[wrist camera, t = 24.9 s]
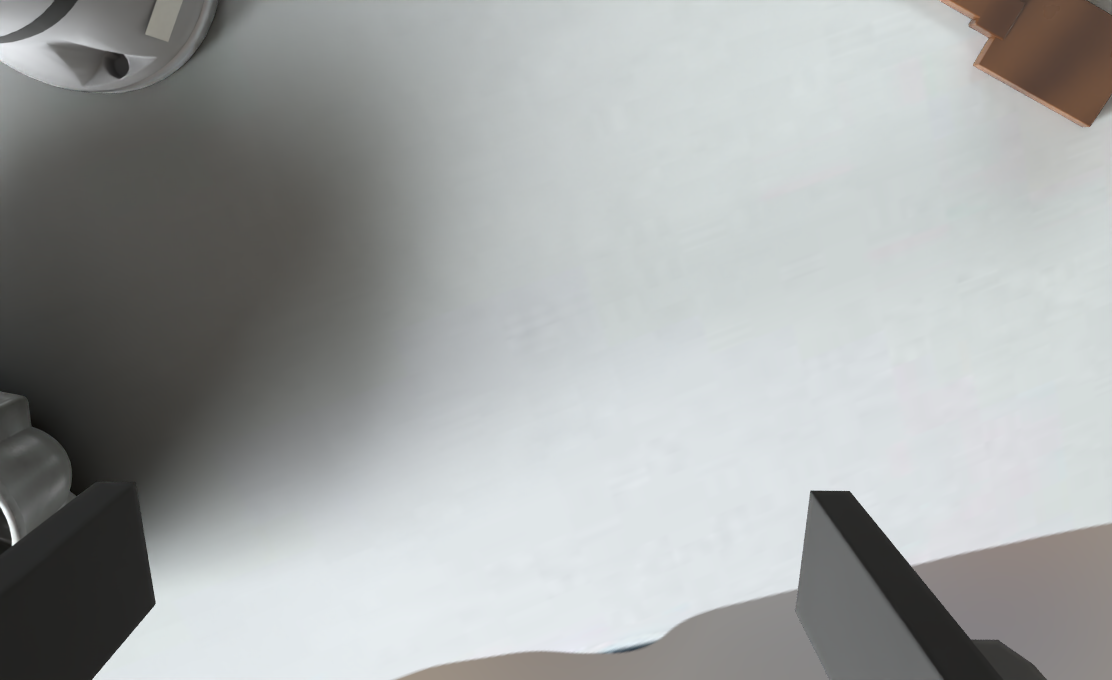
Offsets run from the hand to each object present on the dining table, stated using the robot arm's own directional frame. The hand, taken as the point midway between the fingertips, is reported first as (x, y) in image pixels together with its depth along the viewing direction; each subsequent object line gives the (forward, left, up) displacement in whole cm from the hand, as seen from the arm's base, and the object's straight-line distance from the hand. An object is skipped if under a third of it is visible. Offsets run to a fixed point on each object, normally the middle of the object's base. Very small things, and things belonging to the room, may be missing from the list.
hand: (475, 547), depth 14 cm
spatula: (+16, +25, -33) cm, 44 cm away
